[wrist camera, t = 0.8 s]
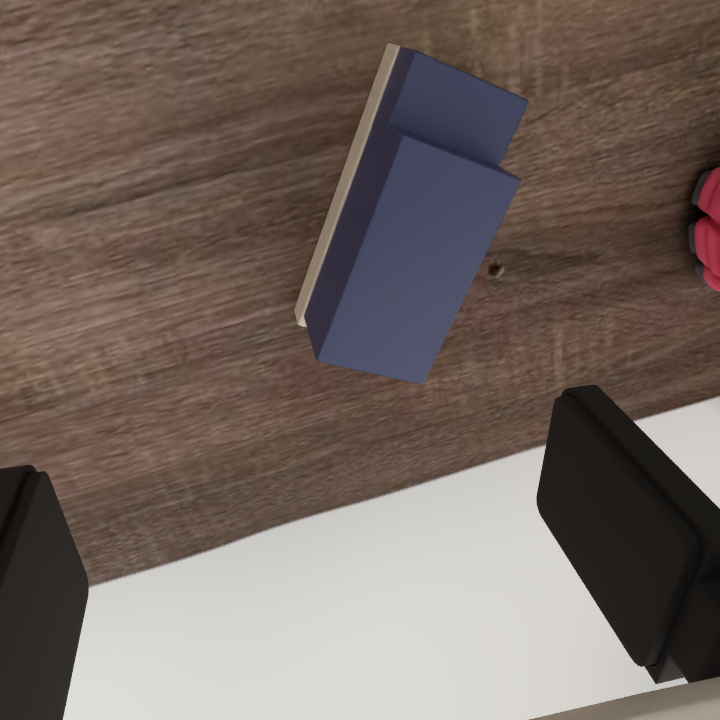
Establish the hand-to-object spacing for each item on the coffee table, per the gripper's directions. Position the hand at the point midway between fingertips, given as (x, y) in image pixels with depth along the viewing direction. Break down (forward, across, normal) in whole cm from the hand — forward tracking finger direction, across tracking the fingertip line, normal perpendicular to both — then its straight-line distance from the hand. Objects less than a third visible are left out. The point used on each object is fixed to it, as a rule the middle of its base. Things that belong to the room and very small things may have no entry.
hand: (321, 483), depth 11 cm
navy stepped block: (+17, -6, 0) cm, 18 cm away
